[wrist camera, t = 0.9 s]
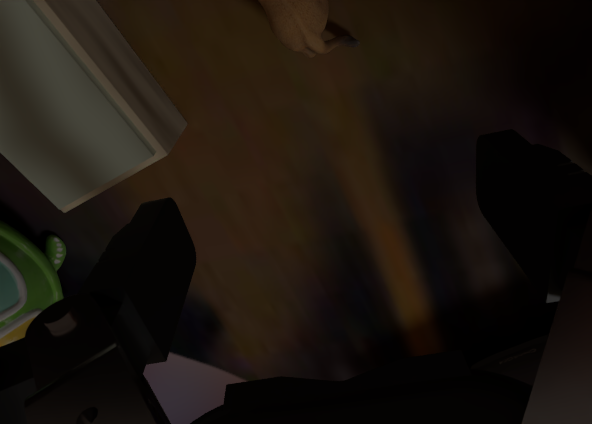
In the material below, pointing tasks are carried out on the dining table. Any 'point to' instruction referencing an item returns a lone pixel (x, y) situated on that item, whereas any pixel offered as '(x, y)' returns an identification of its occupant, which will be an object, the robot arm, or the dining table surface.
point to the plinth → (77, 100)
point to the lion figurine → (303, 25)
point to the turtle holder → (26, 280)
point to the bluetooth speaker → (516, 360)
